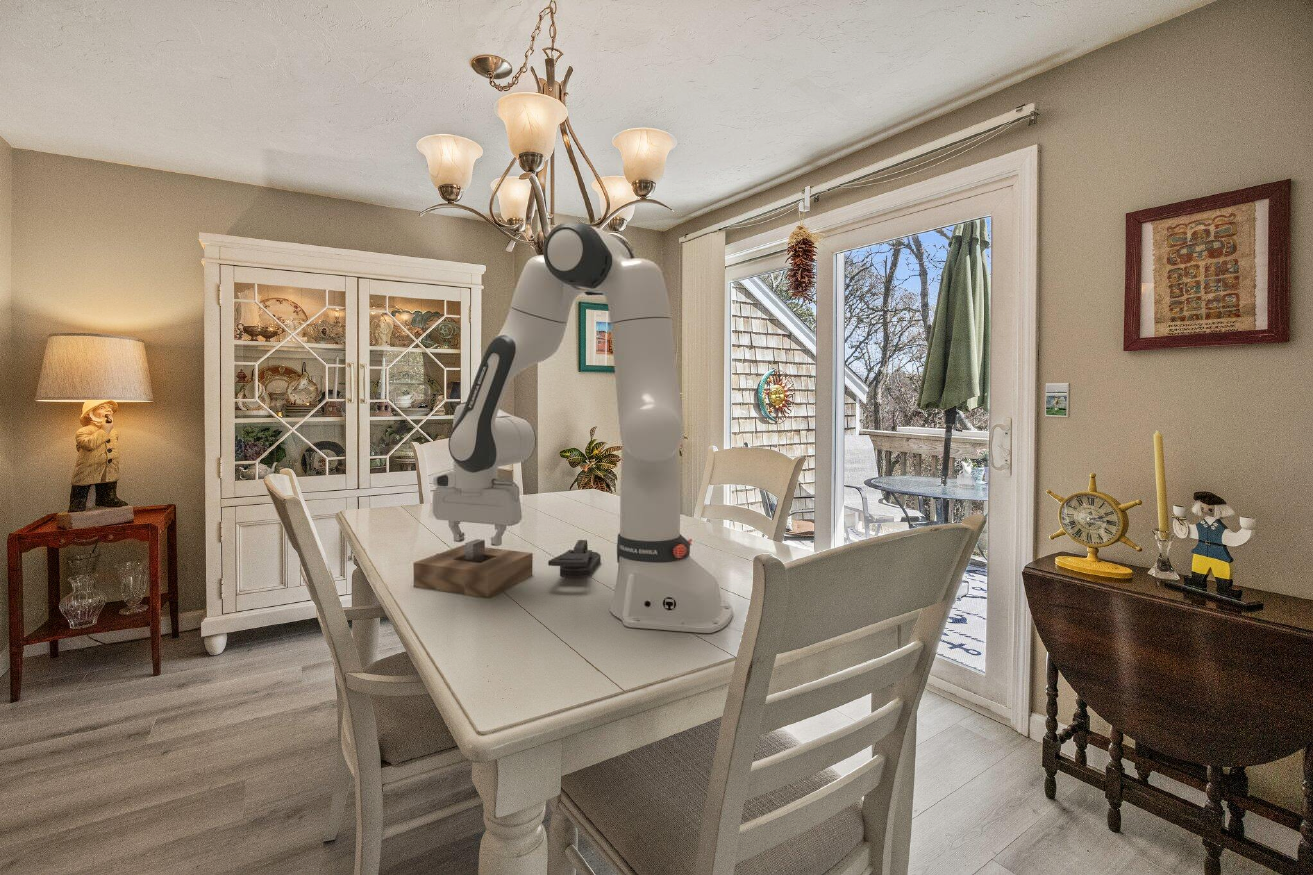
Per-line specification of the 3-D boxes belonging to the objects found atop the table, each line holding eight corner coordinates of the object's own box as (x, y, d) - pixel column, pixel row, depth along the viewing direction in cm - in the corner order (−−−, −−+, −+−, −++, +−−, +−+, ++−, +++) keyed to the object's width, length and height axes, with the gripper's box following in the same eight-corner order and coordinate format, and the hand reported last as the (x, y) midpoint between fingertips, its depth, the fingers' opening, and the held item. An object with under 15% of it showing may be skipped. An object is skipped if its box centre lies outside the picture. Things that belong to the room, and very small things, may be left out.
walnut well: (532, 575, 133) (532, 553, 133) (488, 598, 118) (488, 572, 118) (464, 566, 139) (463, 544, 139) (413, 586, 124) (413, 562, 124)
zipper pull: (544, 561, 121) (564, 532, 146) (544, 593, 122) (564, 559, 147) (589, 562, 121) (602, 533, 146) (589, 594, 121) (601, 560, 146)
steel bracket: (490, 580, 130) (490, 540, 129) (479, 585, 126) (478, 544, 125) (471, 577, 131) (471, 538, 131) (459, 582, 128) (458, 542, 127)
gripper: (527, 478, 126) (528, 544, 127) (447, 474, 134) (448, 536, 135) (509, 482, 121) (510, 551, 122) (426, 477, 128) (428, 542, 129)
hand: (477, 543), depth 128 cm, fingers open, 8 cm apart
